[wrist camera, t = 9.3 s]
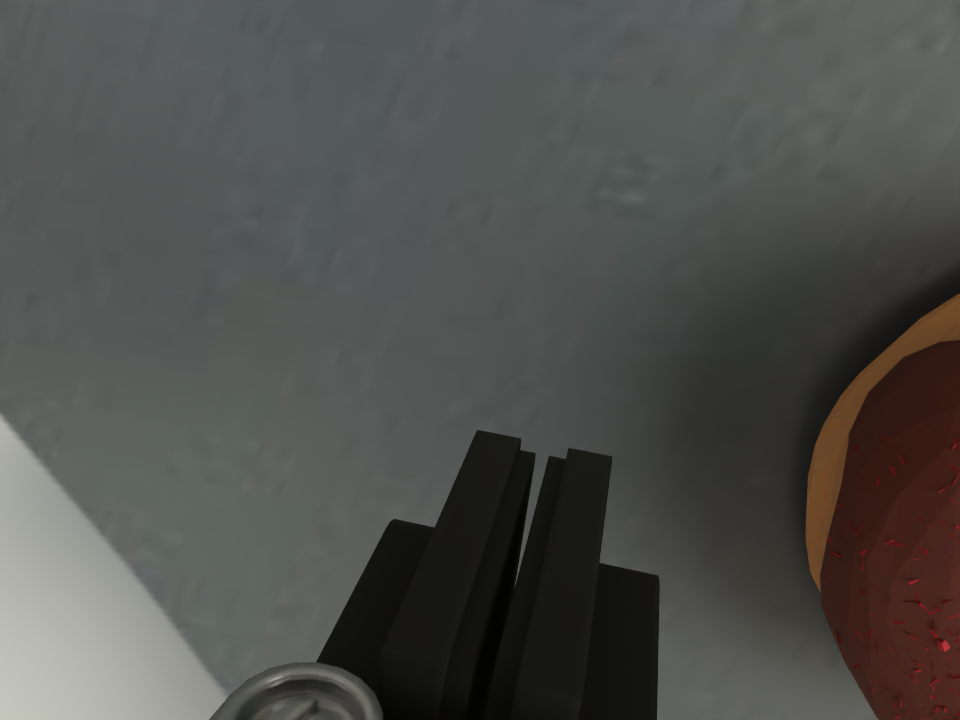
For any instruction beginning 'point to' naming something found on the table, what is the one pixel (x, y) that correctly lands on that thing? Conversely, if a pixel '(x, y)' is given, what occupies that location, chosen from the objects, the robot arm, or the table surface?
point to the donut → (895, 522)
